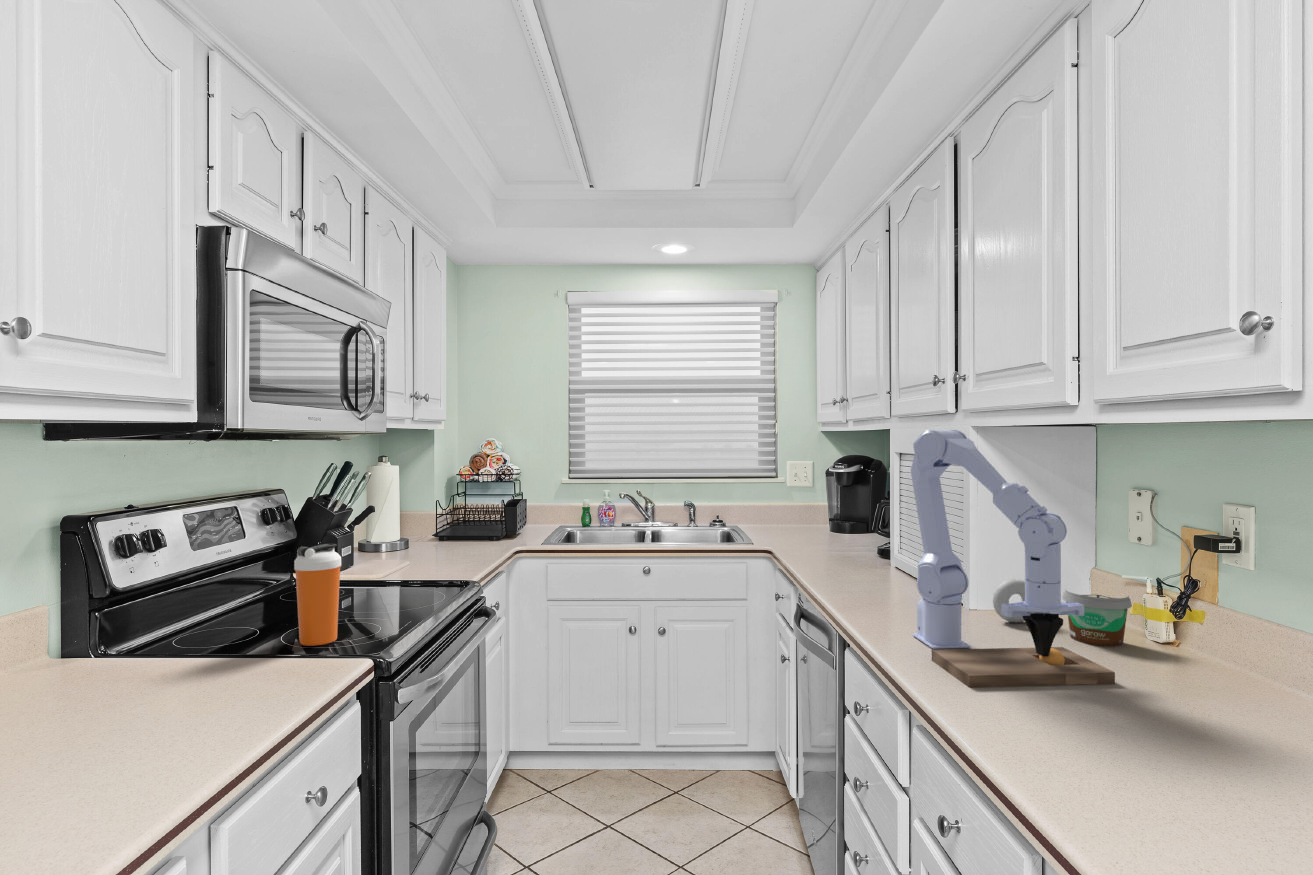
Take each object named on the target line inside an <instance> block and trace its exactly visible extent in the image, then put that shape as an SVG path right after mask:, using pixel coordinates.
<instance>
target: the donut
mask: <svg viewBox="0 0 1313 875" xmlns="http://www.w3.org/2000/svg"><path fill="white" fill-rule="evenodd" d="M1014 595H1018V596H1019V597H1020V598H1021V600H1020V602H1024V601H1025V580H1022V579H1016V578H1014V579H1013V578H1012V579H1007V580H1005V581H1003V582H1001V583H1000V584H999V585H998V586H997V587H996V589H995V590H994V592H993V597H992V605H993V606H992V607H993V609H994V610H995V612H996V614H997V615H998V616H999V617H1000V618H1001V619H1003V620H1005V622H1010V623H1015V624H1016V623H1023V622H1025V621H1024V619H1023V616H1013V617H1006V616H1004V615H1002V614H1001V604H1010V598H1011V597H1012V596H1014Z"/></svg>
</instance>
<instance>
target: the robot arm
mask: <svg viewBox="0 0 1313 875" xmlns="http://www.w3.org/2000/svg"><path fill="white" fill-rule="evenodd" d="M912 445H913V451H914V456H913V460H912V463H911V468H910V475H911V481H912V488H913V494H914V500H915V505H916V506H915V507H916V511H917V512H916V513H917V518H918V524H919V530H920V531H919V532H920V536H921V543H922V548H923V549H922V550H923V556H922V557H921V559H920V561H919V562H918V564H917V570H918V571H917V572H918V573H917V577H916V588H917V591H918V593H919V595H920V596H921V599H919V601H918V603H917V606H916V621H917V622H916V632H914V633H912V636H913V637H914V638H916V639H918V640H919V641H921V642H922V643H923V644H925V645H926V646H928V647H929V648H931V649H932V650H942V649H971V645H970V644H968V643H967V642H965V641H963V640H962V601H963V594H965V593H966V592H967V591H968V589H969V578H968V575H967V573H966V572H965V571H964V569H963V566H962V561H961V559H960V558H959V557H958V556H957V555H956V554H955V553H954V552H953V548H952V543H951V537H950V530H949V525H948V524H949V523H948V520H947V512H946V507H945V500H944V495H943V490H942V489H943V488H942V484H941V476H942V475H943V474H944V473H945V472H946V470H947V469H948V468H949V467H950V466H952V465H953V466H954V465H956V466H961V467H962V468H964V469H965V470H966V471H967V472H968V473H970V475H972V476H973V477H974V478H975V479H976V480H977V481H978V482H980V484H981V485H983V486H984V488H986V490H988V491H989V492H990V493H991V494H992V503H993V504H994V505H995V507H996V508H997V509H998V510H999V511H1000V512H1001V513H1002V514H1003V515H1004V516H1005V517H1006V519H1008V521H1010V522H1011V523H1012V525H1013V526H1015V527H1016V529H1018V530H1017V534H1018V537H1019V539H1020V541H1021V543H1023V545H1024V581H1025V601H1024V602H1021V601H1019V602H1011V603H1010V602H1009V604H1001V614H1002V615H1004V616H1006V617H1013V616H1023V619H1024V621H1023V622H1025V625H1026V626H1027V628H1028V630H1029V632H1030V634H1031V637H1032V640H1033V644H1034V648H1036V653H1037V654H1039V655H1041V656H1043V657H1046V656H1049V653H1050V649H1051V647H1053V643H1054V640H1055V638H1056V635H1058V634H1057V633H1058V632H1059V631H1060V629H1061V628H1062V626H1063V625H1064V619H1063V618H1062V617H1061V616H1068V615H1078V616H1084V605H1082V604H1079V603H1068V602H1066V601H1062V600H1061V598H1062V588H1061V587H1062V586H1061V585H1062V583H1061V582H1062V580H1061V579H1062V578H1061V577H1062V574H1061V573H1062V556H1061V555H1062V554H1061V552H1062V551H1061V550H1062V549H1061V546H1062V545H1061V543H1062V542H1063V541H1064V540H1065V539H1066V536H1067V534H1068V531H1067V525H1066V523H1065V522H1064V521H1063V520H1062V518H1061V516H1060V515H1058V514H1056V513H1052V512H1048V509H1047V508H1046V506H1044V505H1043V506H1041V505H1040V504H1039V503H1038V502H1037V501H1036V500H1035V499H1034V498H1033V497H1032V496H1031V495H1030V494H1029V493H1028V492H1029V491H1030V490H1029V489H1028V488H1027V487H1026V486H1025V485H1020V484H1019V483H1015V482H1007V480H1006V479H1005V478H1004V477H1003V476H1002V475H1001V473H999V471H998V470H997V469H996V468H995V467H994V466H993V465H992V463H991V462H990V461H988V460H987V458H986V457H985V456H984V455H983V453H981V451H980V450H979V449H978V448H977V446H976V444H975V442H974V441H973V440H971V438H968V437H967V435H966V434H965V433H964V432H962V431H961V430H957V429H953V430H951V429H950V430H934V429H929V430H925V431H923V432H922V433H921V434H920V435H919V436H918V438H917V439H916V440H915V441H914V442H913V444H912Z"/></svg>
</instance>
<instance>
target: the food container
mask: <svg viewBox="0 0 1313 875" xmlns="http://www.w3.org/2000/svg"><path fill="white" fill-rule="evenodd" d="M1064 590H1065V591H1063V594H1062V597H1061V598H1062V600H1063V602H1068V603H1079V604H1082V605H1084V616H1078V615H1067V618H1068V620H1067V621H1068V628H1069V636H1070V638H1071V639H1072V640H1074V641H1075V642H1079V643H1082V644H1085V645H1089V644H1090V646H1096V647H1097V646H1098V647H1106V648H1108V647H1109V648H1113V647H1116V648H1117V647H1120V646H1122V645H1123V644H1124V640H1125V632H1126V625H1127V616H1128V610H1129V609H1130V608H1131V607H1132V601H1131V598H1130V596H1129V594H1128V595H1127V596H1125V597H1121V598H1120V597H1119V598H1118V597H1116V598H1115V597H1109V596H1104V595H1101V594H1077V593H1074V592H1071V591H1068V590H1067V589H1064Z"/></svg>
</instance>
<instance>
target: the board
mask: <svg viewBox="0 0 1313 875" xmlns="http://www.w3.org/2000/svg"><path fill="white" fill-rule="evenodd" d="M1051 648H1054V649H1056V650H1058V651H1060V652H1061V653H1062V655H1063V657H1064V661H1065V662H1064V665H1049V664H1048V663H1046V662H1044V661H1042V660H1040V659H1039V656H1040V655H1039V654H1037V653H1036V648H1035V647H1004V648H1002V647H1000V648H996V647H995V648H991V647H990V648H946V649H931V661H932V662H934V663H935V664H936V665H938V666H939V667H940V668H942V669H943V670H944V671H946V672H948V673H949V674H950V675H951V676H953V677H954V678H956V679H957V680H958V681H960V682H961V683H963V684H964V685H966V686H967V687H968V688H990V687H991V688H992V687H993V688H995V687H998V688H999V687H1031V686H1032V687H1033V686H1034V687H1035V686H1036V687H1038V686H1041V687H1042V686H1043V687H1044V686H1076V685H1075V684H1087V685H1114V684H1116V682H1115V681H1116V672H1115V671H1114V670H1111V669H1109V668H1107V667H1105V666H1103V665H1101V664H1098V663H1097V662H1095V661H1092V660H1090V659H1088V658H1086V657H1083V656H1082V655H1080V654H1078V653H1075V652H1073V651H1071V650H1070V649H1068V648H1065V647H1063V646H1051Z"/></svg>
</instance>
